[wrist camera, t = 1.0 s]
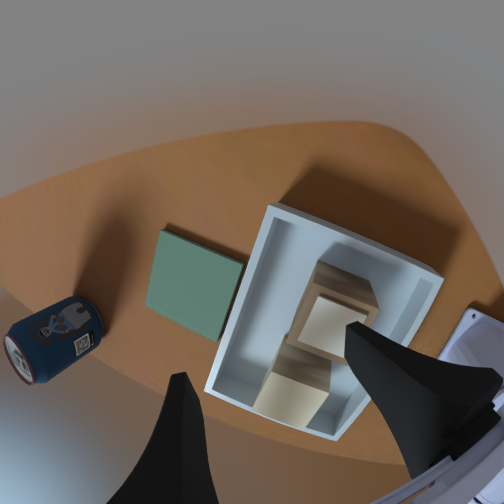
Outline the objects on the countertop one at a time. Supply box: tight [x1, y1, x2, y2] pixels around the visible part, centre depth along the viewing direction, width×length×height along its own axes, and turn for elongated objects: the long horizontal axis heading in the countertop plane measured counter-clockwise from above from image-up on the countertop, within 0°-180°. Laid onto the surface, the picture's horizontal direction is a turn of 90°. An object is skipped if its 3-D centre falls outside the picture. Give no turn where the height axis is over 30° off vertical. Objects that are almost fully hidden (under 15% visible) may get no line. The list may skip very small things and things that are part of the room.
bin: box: [204, 202, 444, 441], centre depth 22 cm, size 13×17×4 cm
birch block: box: [251, 335, 332, 429], centre depth 21 cm, size 4×4×6 cm
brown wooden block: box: [286, 260, 380, 366], centre depth 19 cm, size 4×4×6 cm
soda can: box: [3, 296, 103, 385], centre depth 25 cm, size 7×7×12 cm
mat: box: [145, 229, 245, 342], centre depth 25 cm, size 8×8×1 cm
